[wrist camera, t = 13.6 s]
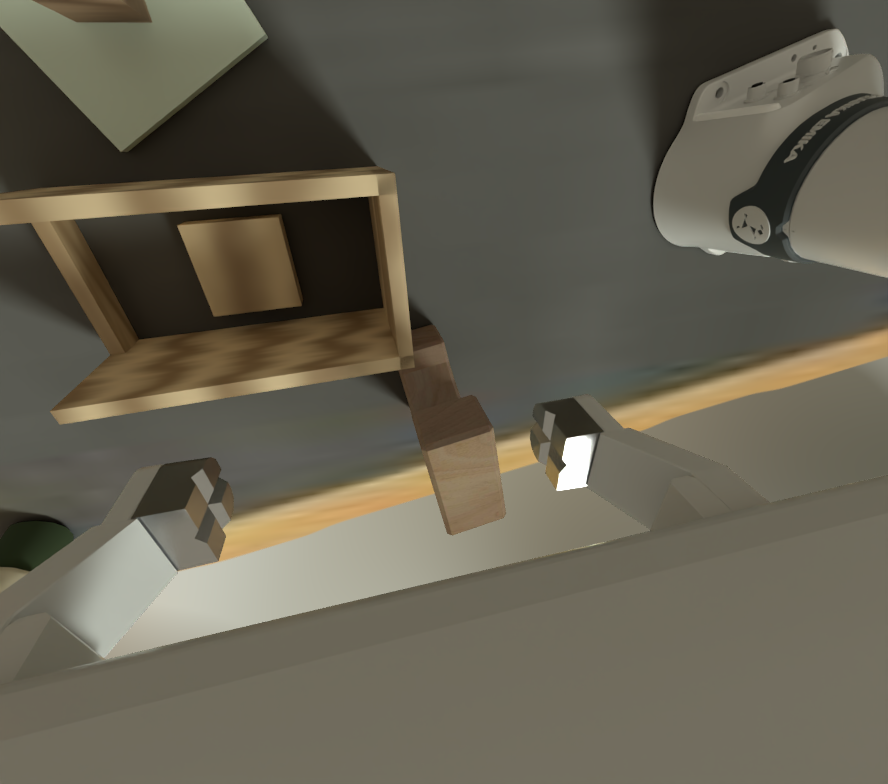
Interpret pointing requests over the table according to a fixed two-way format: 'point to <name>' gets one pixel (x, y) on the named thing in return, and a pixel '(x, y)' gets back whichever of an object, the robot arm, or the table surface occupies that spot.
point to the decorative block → (452, 438)
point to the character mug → (29, 548)
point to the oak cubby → (223, 290)
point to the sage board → (135, 58)
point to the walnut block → (100, 10)
